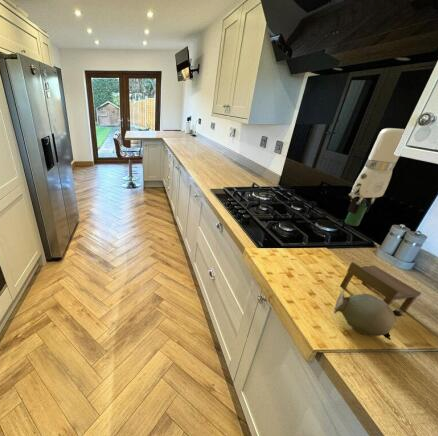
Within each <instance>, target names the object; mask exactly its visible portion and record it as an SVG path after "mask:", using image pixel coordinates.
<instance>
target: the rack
mask: <svg viewBox="0 0 438 436" xmlns="http://www.w3.org/2000/svg"><path fill="white" fill-rule="evenodd" d="M353 277H355V278H356V279H357V280H359V281H361V284H362V285H363V284H364V285H363V286H368V287H369V288H371V289H372V290H374V291H375V292H377V293H378V294H380V295H381V296H383V297H384V299H383V301H384V302H385V303H387V304H388V305H389V306H391V304H392V303H393V301H397V300H404V299H405V300H404V301H403V302H402V304H401V305H400V306H399V308H398V309H399V311H401V312H402V313H403V312H407V311H408V310H409V308H410V307H411V305H412V304H413V303H414V302H415V300H416V299H417V298H418V297H420V296H421V294H422V292H420V291H418V289H415V288H414V287H412V286H410V285H409V284H407V283H405V282H403V281H402V280H400V279H398V278H396V277H395V276H393V275H391V274H389V273H388V272H386V270H385V271H384V270H383V269H381V268H380V267H379V266H376V265H365V266H361V265H358V264H357V263H355V262H351V263H350V264H349V267H348V268H347V270H346V274H345V276H344V278H343V280H342V281H341V283H340V285H339V287H340V288H341V289H342V290H343V289H344V290H345V289H347V288H348V286H349V284H350V282H351V281H352V278H353Z"/></svg>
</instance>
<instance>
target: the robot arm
mask: <svg viewBox="0 0 438 436" xmlns="http://www.w3.org/2000/svg"><path fill="white" fill-rule="evenodd" d="M404 131H405V128H395V127H394V128H393V127H386V128H383V129H381V131H379V133H378V135H377V138H376V140H375V142H374V144H373V146H372V149H371V151H370V153H369V155H368V156H367V157H368V158H367V160H366V162H365V163H364V166H363V168H362V170H361V172H360V173H359V174H358V177H357V178H356V180H355V182H354V184H353V186H352V189H351V191H350V193H348V197H349V199H350V203H349V206H348V208H347V210H346V211H347V212H348V213H349V212H351V213H353V214H356V213H357V211H358V209H359V207H360V205H361V204H360V202H361V201H362V199H366V202H365V203H366V206H367V209H366V211H365V213H364V214H368V212H369V210H370V208H371V206H372V204H374V203H375V201H376V200H377V199H378V198H380V197H383V196H384V195H385V193H386V190H387V188H388V186H389V184H390V181H391V179H392V175H393V170H394V168H395V166H396V164H397V162H398V160H399V158H400V156H394V152H395V150H396V148H397V146H398V144H399V142H400V140H401V138H402V135H403V133H404Z"/></svg>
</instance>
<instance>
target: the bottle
mask: <svg viewBox="0 0 438 436" xmlns="http://www.w3.org/2000/svg"><path fill="white" fill-rule="evenodd" d="M365 202H366V199H364V198H363V199H362V201H361V202H360V204H361V205H360V207H359V209H358V211H357V213H356V214H353V213H351V212H349V211H348V213H347V215H346V218H345V219H344V223H345V224H346V225H348V226H352V227H358V226H359V225H360V224H361V221H362V219H363V217H364V215H365V214H366V213H365V211H366V209H367V206H366V203H365Z"/></svg>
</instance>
